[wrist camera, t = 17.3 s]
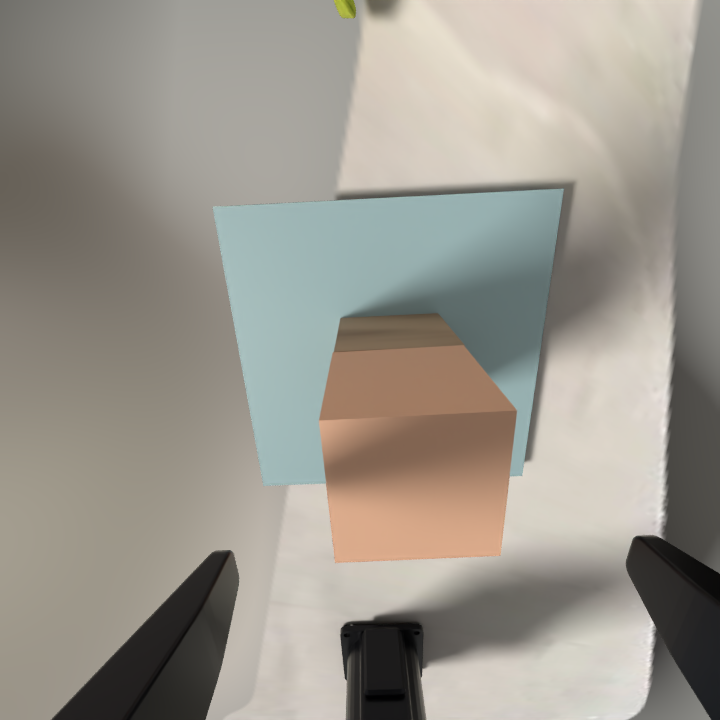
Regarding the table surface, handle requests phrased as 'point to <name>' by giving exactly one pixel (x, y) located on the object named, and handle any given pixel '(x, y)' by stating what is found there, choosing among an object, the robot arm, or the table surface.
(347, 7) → the bird rattle
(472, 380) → the terracotta cube
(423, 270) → the board
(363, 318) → the walnut cube
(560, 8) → the table surface
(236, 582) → the robot arm
